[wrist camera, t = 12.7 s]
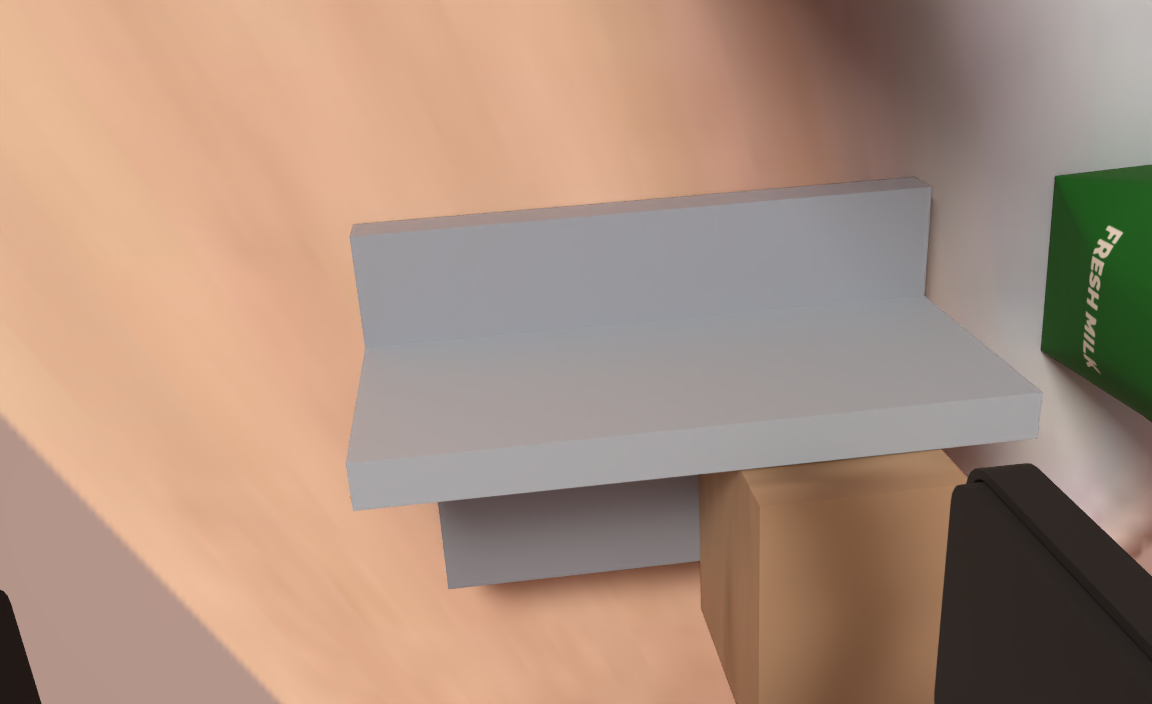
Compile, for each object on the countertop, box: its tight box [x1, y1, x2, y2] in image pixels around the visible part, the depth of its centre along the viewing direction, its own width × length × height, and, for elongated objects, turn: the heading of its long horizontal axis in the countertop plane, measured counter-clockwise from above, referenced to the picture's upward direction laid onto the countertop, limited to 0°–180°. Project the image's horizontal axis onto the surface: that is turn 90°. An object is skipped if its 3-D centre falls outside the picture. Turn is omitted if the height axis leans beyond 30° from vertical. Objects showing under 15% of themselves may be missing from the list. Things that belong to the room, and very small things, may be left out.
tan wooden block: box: [699, 449, 968, 704], centre depth 36 cm, size 6×10×8 cm, turn 3°
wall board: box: [346, 177, 1043, 589], centre depth 37 cm, size 20×12×10 cm, turn 93°
